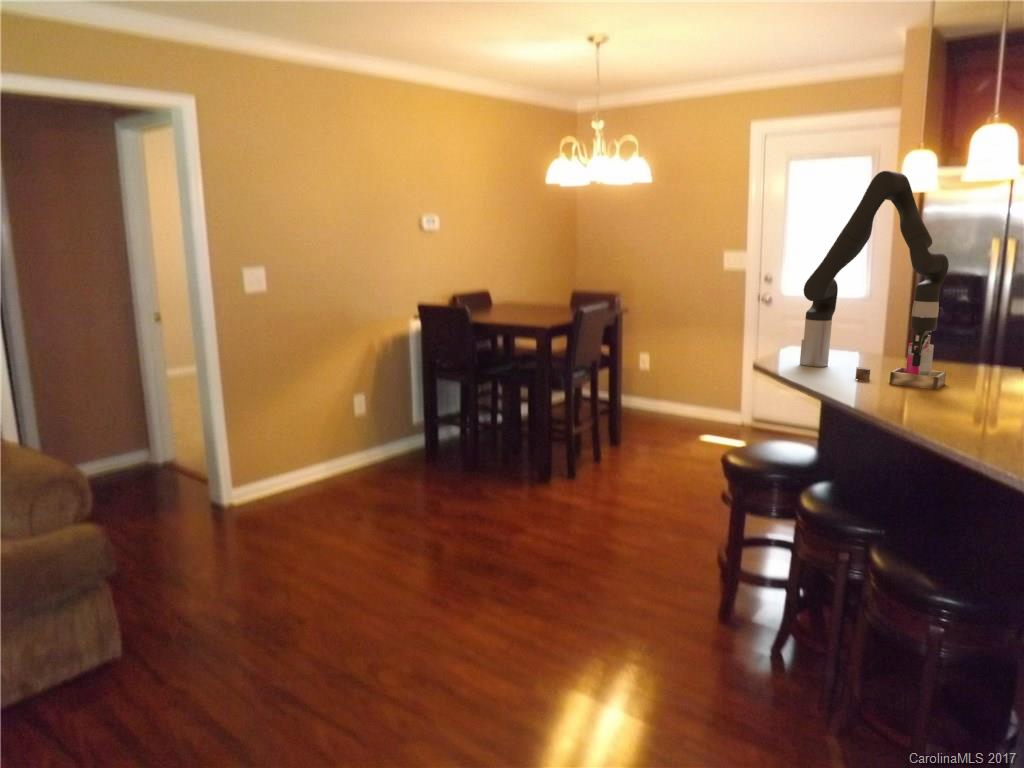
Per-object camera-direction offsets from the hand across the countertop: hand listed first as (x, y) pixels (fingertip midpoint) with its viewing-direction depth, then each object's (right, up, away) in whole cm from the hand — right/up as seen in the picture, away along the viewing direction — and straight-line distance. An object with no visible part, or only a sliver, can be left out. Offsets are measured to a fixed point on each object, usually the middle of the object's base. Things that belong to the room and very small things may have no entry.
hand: (918, 364), depth 248 cm
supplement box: (0, -5, +1) cm, 5 cm away
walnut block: (-15, -5, +8) cm, 18 cm away
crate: (0, -6, +1) cm, 7 cm away
